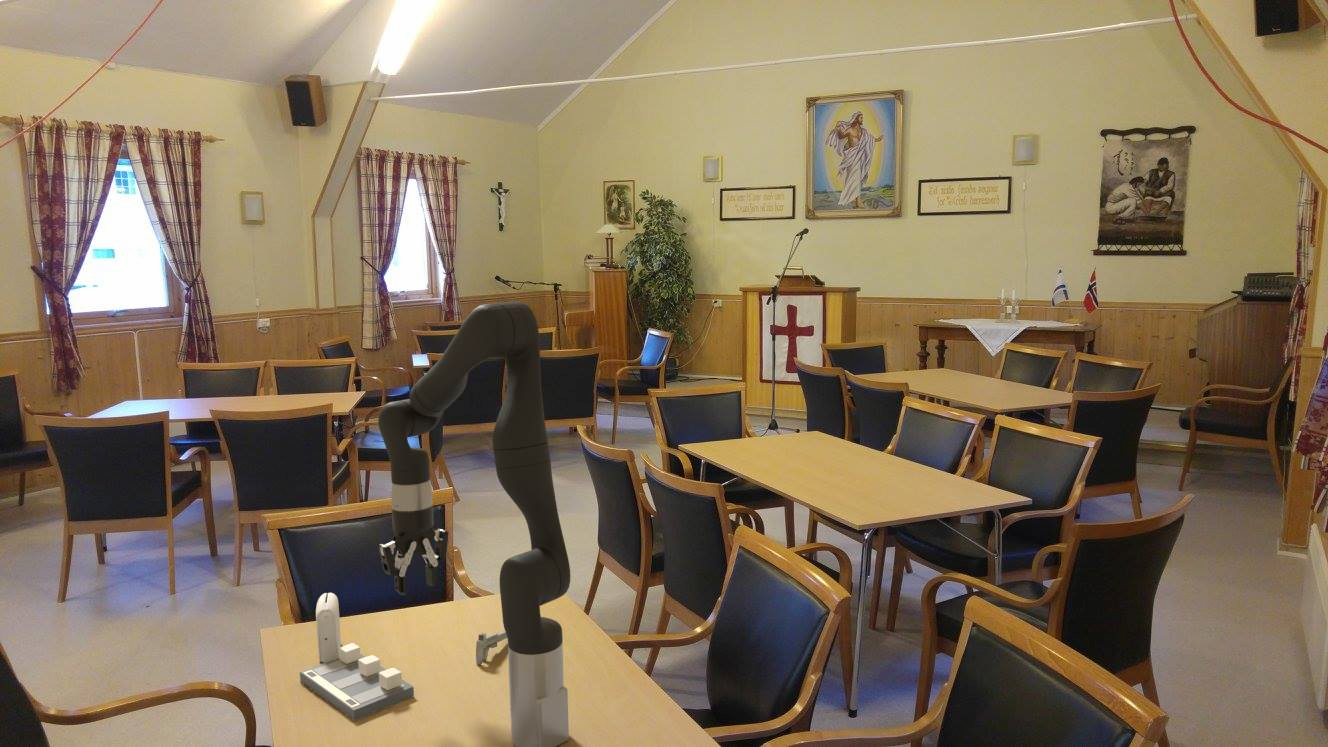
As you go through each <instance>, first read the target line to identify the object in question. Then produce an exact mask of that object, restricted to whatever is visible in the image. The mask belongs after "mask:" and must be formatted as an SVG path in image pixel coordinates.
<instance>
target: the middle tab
mask: <svg viewBox="0 0 1328 747" xmlns="http://www.w3.org/2000/svg"><path fill="white" fill-rule="evenodd" d="M358 666H359V672H360V673H361V674H363V675H364V676H366V677H367V676H370V675H373V674H375V673H378V672H381V667H382V666H381V658H379V657H377V656H375V655H374V654H370V655H368V656H365V657H364V658H362V659H359V660H358ZM380 666H381V667H380Z"/></svg>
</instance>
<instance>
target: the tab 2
mask: <svg viewBox="0 0 1328 747" xmlns="http://www.w3.org/2000/svg"><path fill="white" fill-rule="evenodd" d="M402 680H403V677H402V671H400V670H399V669H397V668H395V667H390V668H388V669H386V670H385V671H382V672H379V685H380V686H381V687H383V688H385V689H386V690H390V689H392V688H395V687H398V686H400V685H402Z"/></svg>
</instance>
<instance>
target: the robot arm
mask: <svg viewBox="0 0 1328 747" xmlns="http://www.w3.org/2000/svg"><path fill="white" fill-rule="evenodd" d="M539 331H540V330H539V325H538V321H537V318H536V315H535V313H534V311H533V310H532V309H531V307H530V306H529V305H528V304H526V303H524V302H521V301H511V302H510V301H509V302H492V303H484V304H481V305H479V306H476V308H474V309H473V310H472V311H471V312H470V313H469V314H468V315H467V317H466V318H465V320H464V321H463V322H462V324H461V325H460V327H459V329H458V330H457V332H456V334H455V335H454V336H453V338H452V339H451V341H450V342H449V345H448V346H447V347H446V348H445V351H444V352H443V353H442V355H441V357H440V358H439V359H438V360H437V362H436V363H435V364H434V365H433V366H432V367H431V368H430V369H429V370H428V371H427V372H426V373H425V374H424V375H423V376H422V377H421V378H419V380H418V381H417V382H416V383H415V384H414V385H413V386H412V388H411V390H410V392H409V398H407V399H402V400H396V401H390V402H387V403H386V404H384V405H383V407H382V408H381V409H380V411H379V413H378V419H377V420H378V421H377V422H378V429H379V432H380V434H381V438H382V440H383V443H384V446H385V450H386V453H387V455H388V457H389V461H390V462H389V463H390V475H391V476H390V477H391V487H390V488H391V490H390V504H391V517H392V518H391V521H392V530H393V537H392V539H391V541H390V542H388V543H385V544H383V543H380V544H379V545H378V547H377V548H378V552H379V557H380V560H381V561H380V562H381V564H382V569H383V573H385V574H387V575H388V576H391V577H394V578H393V579H394V590H395V591H396V592H397V593H398V594H399V595H401V596H405V595H407V593H408V591H407V590H408V589H407V576H406V572H407V569H408V566H410V564H411V560H412V559H414V558H416V557H417V556H422V558H423V559H424V561H425V564H426V565H425V568H424V569H425V583H426V586H429V587H433V586H436V583H437V580H438V568H437V567H438V565H439V564H440V563H441V562H443V563H444V562H445V561H446V559H447V552H448V541H449V531H448V530H445V529H442V528H437V529H436V530H435V528H434V524H435V523H434V503H433V502H434V501H433V489H432V483H431V471H430V467H431V466H430V456H429V453H428V451H427V450H425V449H424V448H421V447H411V446H410V443H409V441H408V440H409V439H408V438H412V437H416V436H421V435H425V434H428V433H430V432H431V431H432V430H433V429H434V428H436V426H438V423H439V422H440V419H441V418H442V417H443V413H444V411H445V410H446V409H448V408H449V407H450V406H451V405H452V404H453V403H454V402H455V401H456V400H457V399H458V398H459V397H460V396H461V395H462V394H463V392H464V390H465V388H466V386H467V383H468V377H469V376H468V375H469V373H470V372H471V371H472V370H473V369H474V368H475V367H477V366H479V365H480V364H482V363H483V362H486V361H488V360H497V359H505V366H506V379H507V380H506V392H505V396H504V398H503V402H502V405H501V408H500V410H499V413H498V416H497V419H496V421H495V425H494V428H493V434H492V450H493V455H494V456H493V458H494V464H495V470H496V476H497V479H498V482H500V485H501V486H502V488H503V490H504V491H505V492H506V494H507V495H508V497H509V498H510V499H511V501H512V502H514V504H515V505H516V506H517V507H518V510H520V512H521V513H522V515H523V517H524V519H525V521H526V525H527V527H528V528H527V530H528V533H529V538H530V548H531V549H530V550H528V551H525V552H522V553H519V554H517V555H514V556H511V557H509V558H507V559H506V560H505V561H504V562H503V563H502V566H501V568H500V572H499V593H500V603H501V613H502V614H501V615H502V623H503V628H504V630H505V632H506V635H507V638H506V639H507V650H508V651H507V653H508V654H507V655H508V656H507V657H508V677H509V678H508V679H509V705H510V708H509V709H510V710H509V711H510V728H511V729H510V731H511V742H512V744H513V745H514V746H515V747H557V746H559V745H561V744H563V743H565V742H567V741H569V740H570V732H569V730H570V729H569V727H570V726H569V697H568V695H569V694H568V688H567V687H566V686H564V685H565V682H564V680H565V676H564V645H563V644H564V642H563V641H564V640H563V628H562V626H561V624H560V623H559V622H558V621H557V620H555V619H553V618H548V617H544V616H541V615H542V614H541V606H543V605H546V604H548V603H550V602H552V601H556V600H557V599H560V598H562V596H564V595H565V594H566V593H567V592H568V591H569V588H570V585H571V566H570V561H569V556H568V551H567V546H566V543H565V539H564V538H565V537H564V534H563V530H562V526H561V522H560V521H561V520H560V517H559V511H558V506H557V500H556V499H557V498H556V493H555V487H554V480H553V479H554V478H553V472H552V461H551V452H550V445H549V439H548V434H547V427H546V421H545V411H544V401H543V392H542V380H541V354H540V353H541V350H540V345H541V344H540V334H539V333H540V332H539ZM434 540H435V541H434ZM433 541H434V542H435V543H434V550H433V548H432V543H433ZM394 549H396V550H397V551H396V555H395V557H393V556H394V553H395V551H394ZM394 561H395V562H394Z"/></svg>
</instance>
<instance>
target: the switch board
mask: <svg viewBox="0 0 1328 747" xmlns="http://www.w3.org/2000/svg"><path fill="white" fill-rule="evenodd" d="M360 655H361V659H362V658H364V657H366V656H365V655H363V654H362V653H360ZM380 667H381V672H382V671H385V670H387V669H386V668H384V667H383V666H381V665H380ZM299 677H300V678H299V679H300V682H301V683H302V684H303V683H304V686H306V687H308V688H309V689H310V690H312V691H313V692H315V694H317V695H318V696H320V697H321V698H322V699H324V700H326V701H327V702H328V703H330V704H331V705H333V707H335V708H336V709H338V710H339V711H341V712H342V713H343V714H345V715H346V716H347V717H349V718H350V719H351V720H353V721H357V720H359V719H363V718H365V717H367V716H370V715H372V714H374V713H377V712H379V711H381V710H385V709H386V708H389V707H391V706H394V705H396V704H399V703H402V702H404V701H407V700H409V699H411V698H414V697H415V692H414V686H413V685H412V684H410V683H409V682H407V681H405V680H404V679H402V685H400V686H398V687H395V688H392V689H390V690H386V689H385V688H383V687H381V686H380V685H379V672H378V673H375V674H373V675H370V676H367V677H366V676H364V675H363V674H361V673H360V672H359V666H358V660H356V661H354V662H351V663H348V664H346V663H344V662H343V661H341V660H340V658H338V659H335V660H332V661H329V662H326V663H323V662H322V663H320V664H317V665H316V666H312V667H310V668H306V669H304V670H301V671H299Z"/></svg>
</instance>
